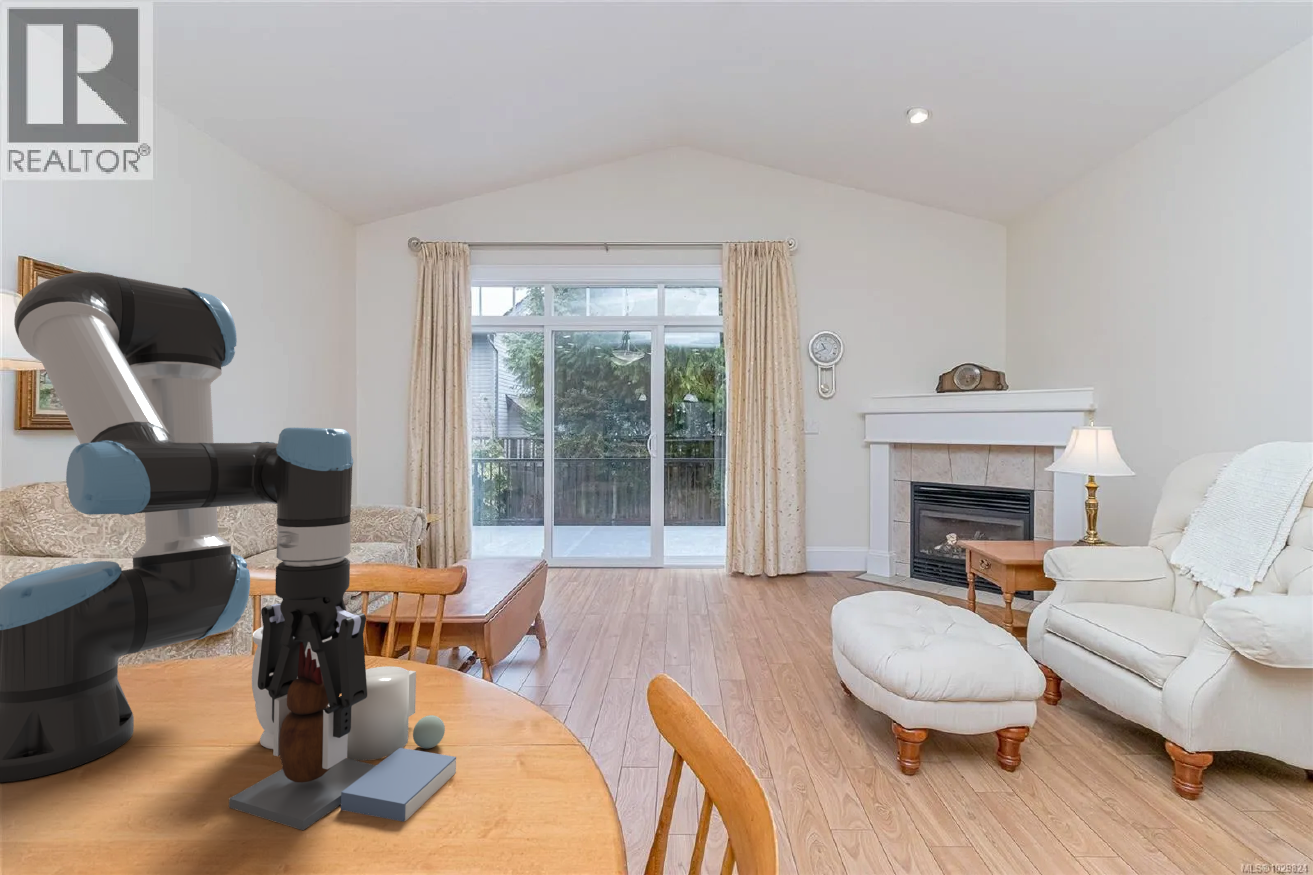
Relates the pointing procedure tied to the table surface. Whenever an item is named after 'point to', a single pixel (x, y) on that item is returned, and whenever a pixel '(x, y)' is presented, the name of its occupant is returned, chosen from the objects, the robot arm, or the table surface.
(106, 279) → the robot arm
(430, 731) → the ball
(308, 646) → the jar
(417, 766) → the book
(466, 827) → the table surface
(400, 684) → the mug
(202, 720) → the table surface
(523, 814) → the table surface
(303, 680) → the wooden figurine
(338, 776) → the coaster
